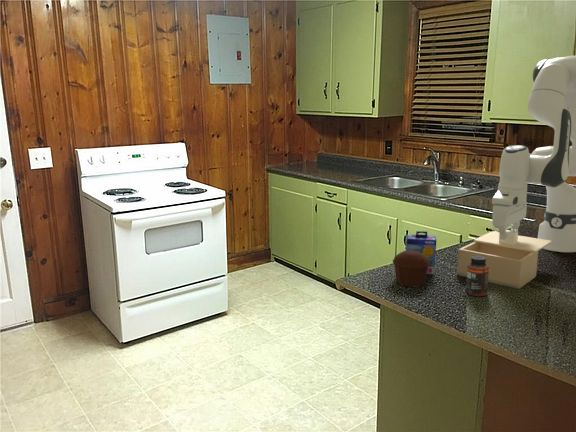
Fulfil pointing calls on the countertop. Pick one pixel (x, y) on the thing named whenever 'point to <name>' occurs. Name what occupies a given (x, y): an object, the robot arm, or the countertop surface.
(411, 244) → the ink cartridge box
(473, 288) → the supplement bottle
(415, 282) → the muffin
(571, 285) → the countertop surface
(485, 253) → the carton
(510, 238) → the carton lid
